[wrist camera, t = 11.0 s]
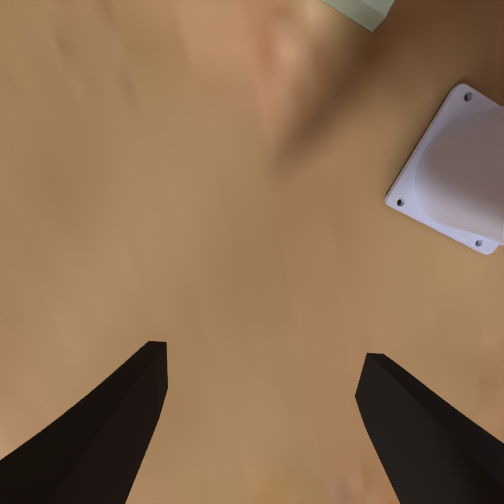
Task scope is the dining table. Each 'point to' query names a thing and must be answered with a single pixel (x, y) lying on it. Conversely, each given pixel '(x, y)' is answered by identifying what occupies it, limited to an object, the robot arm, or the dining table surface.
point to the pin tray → (363, 11)
